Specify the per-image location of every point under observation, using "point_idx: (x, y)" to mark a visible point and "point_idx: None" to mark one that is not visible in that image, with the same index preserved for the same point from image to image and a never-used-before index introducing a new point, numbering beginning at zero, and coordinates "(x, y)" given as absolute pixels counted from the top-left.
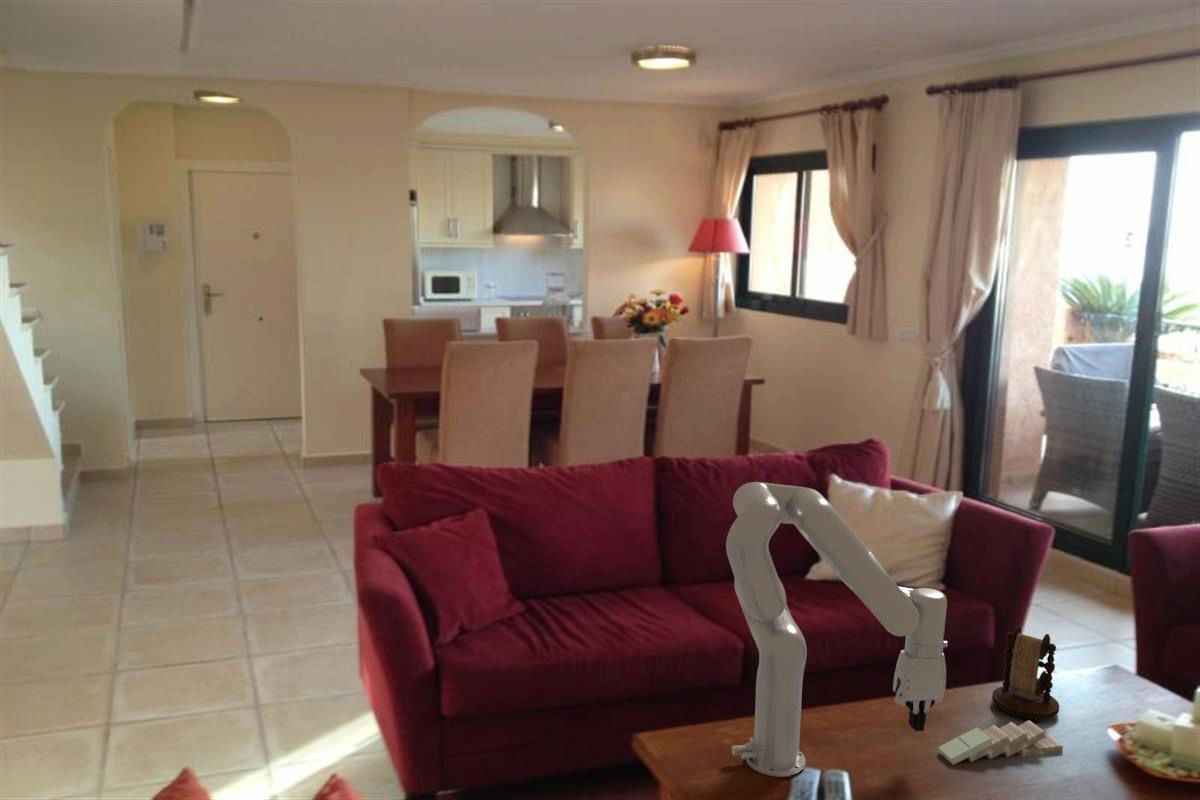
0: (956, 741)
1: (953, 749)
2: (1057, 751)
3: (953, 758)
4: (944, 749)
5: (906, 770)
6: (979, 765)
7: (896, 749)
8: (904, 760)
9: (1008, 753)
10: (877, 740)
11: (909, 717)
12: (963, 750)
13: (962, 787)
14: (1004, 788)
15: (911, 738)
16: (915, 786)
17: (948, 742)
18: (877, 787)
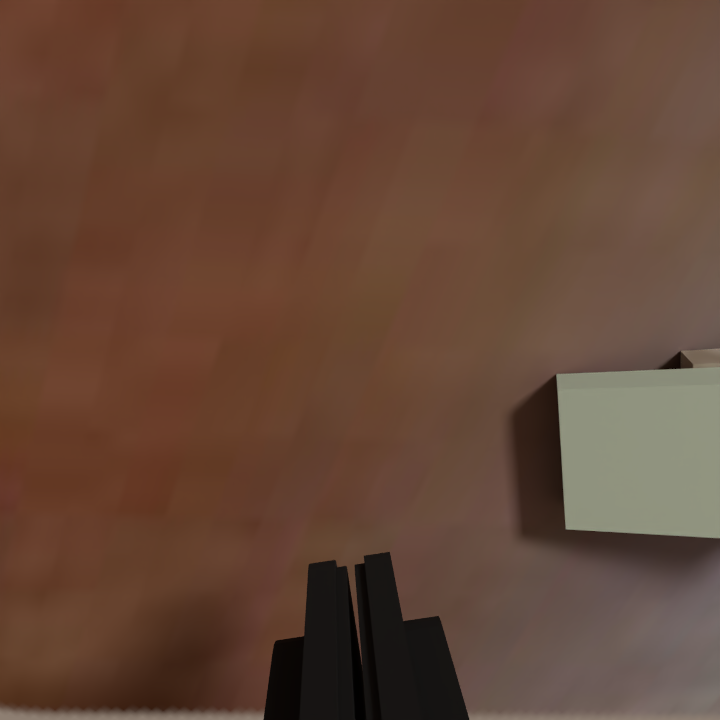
0: (706, 417)
1: (632, 471)
2: None
3: (582, 526)
4: (580, 434)
5: (267, 548)
6: None
7: (289, 316)
8: (294, 447)
9: None
10: (192, 185)
11: (269, 705)
12: (683, 521)
13: (499, 693)
14: (699, 702)
15: (454, 170)
16: (261, 684)
17: (648, 391)
18: (54, 690)
